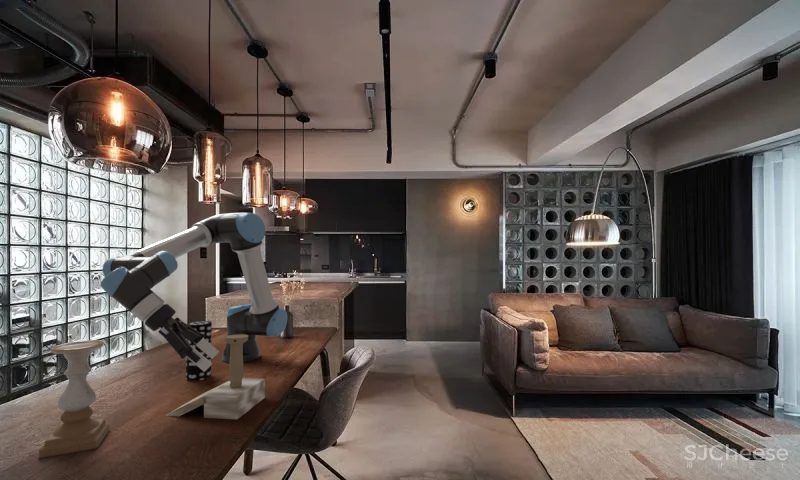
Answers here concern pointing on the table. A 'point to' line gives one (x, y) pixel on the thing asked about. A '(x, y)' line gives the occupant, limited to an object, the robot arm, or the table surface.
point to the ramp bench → (227, 400)
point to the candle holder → (76, 405)
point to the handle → (236, 359)
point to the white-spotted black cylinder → (191, 369)
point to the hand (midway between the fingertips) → (212, 361)
